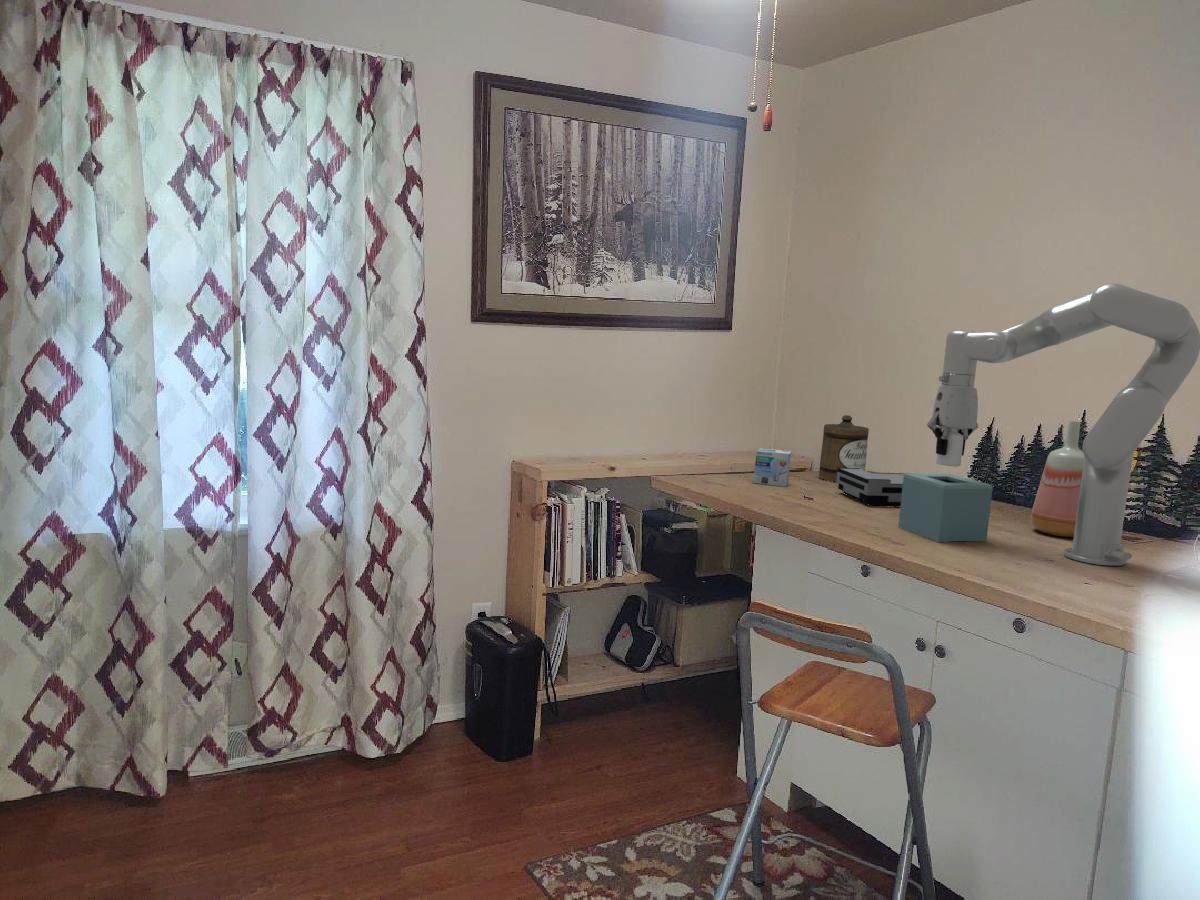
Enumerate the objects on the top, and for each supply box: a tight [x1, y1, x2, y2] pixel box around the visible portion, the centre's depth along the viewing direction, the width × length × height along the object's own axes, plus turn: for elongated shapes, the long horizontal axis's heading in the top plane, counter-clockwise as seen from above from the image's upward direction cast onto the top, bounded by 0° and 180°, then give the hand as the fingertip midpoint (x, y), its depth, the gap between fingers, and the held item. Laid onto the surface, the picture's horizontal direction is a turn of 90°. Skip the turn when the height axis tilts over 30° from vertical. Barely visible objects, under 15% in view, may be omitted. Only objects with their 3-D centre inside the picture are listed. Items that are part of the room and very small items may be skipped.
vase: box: [1030, 420, 1085, 538], centre depth 231 cm, size 14×14×30 cm
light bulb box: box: [753, 447, 792, 488], centre depth 286 cm, size 11×7×11 cm, turn 73°
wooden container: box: [818, 414, 869, 483], centre depth 301 cm, size 15×15×22 cm
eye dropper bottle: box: [935, 428, 964, 468], centre depth 222 cm, size 4×6×12 cm
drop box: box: [898, 473, 994, 543], centre depth 224 cm, size 16×14×14 cm
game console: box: [835, 468, 910, 507], centre depth 269 cm, size 21×32×8 cm, turn 100°
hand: (949, 453), depth 223 cm, fingers closed on eye dropper bottle, 4 cm apart
